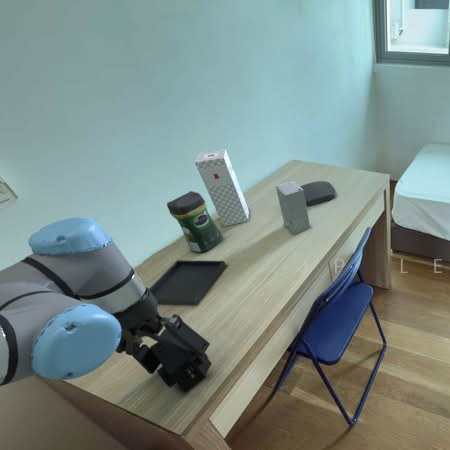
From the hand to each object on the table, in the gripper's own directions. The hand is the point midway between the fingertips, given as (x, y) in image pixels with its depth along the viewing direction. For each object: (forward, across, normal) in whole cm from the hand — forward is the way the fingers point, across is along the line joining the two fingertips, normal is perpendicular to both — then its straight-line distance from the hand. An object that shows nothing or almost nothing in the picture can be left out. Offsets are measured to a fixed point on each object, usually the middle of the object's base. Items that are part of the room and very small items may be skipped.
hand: (181, 368), depth 66 cm
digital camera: (+2, 0, 0) cm, 2 cm away
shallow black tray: (+2, +16, -26) cm, 31 cm away
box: (+2, +20, -60) cm, 63 cm away
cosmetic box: (+2, -6, -55) cm, 55 cm away
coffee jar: (+2, +22, -44) cm, 49 cm away
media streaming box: (+2, -6, -77) cm, 77 cm away
